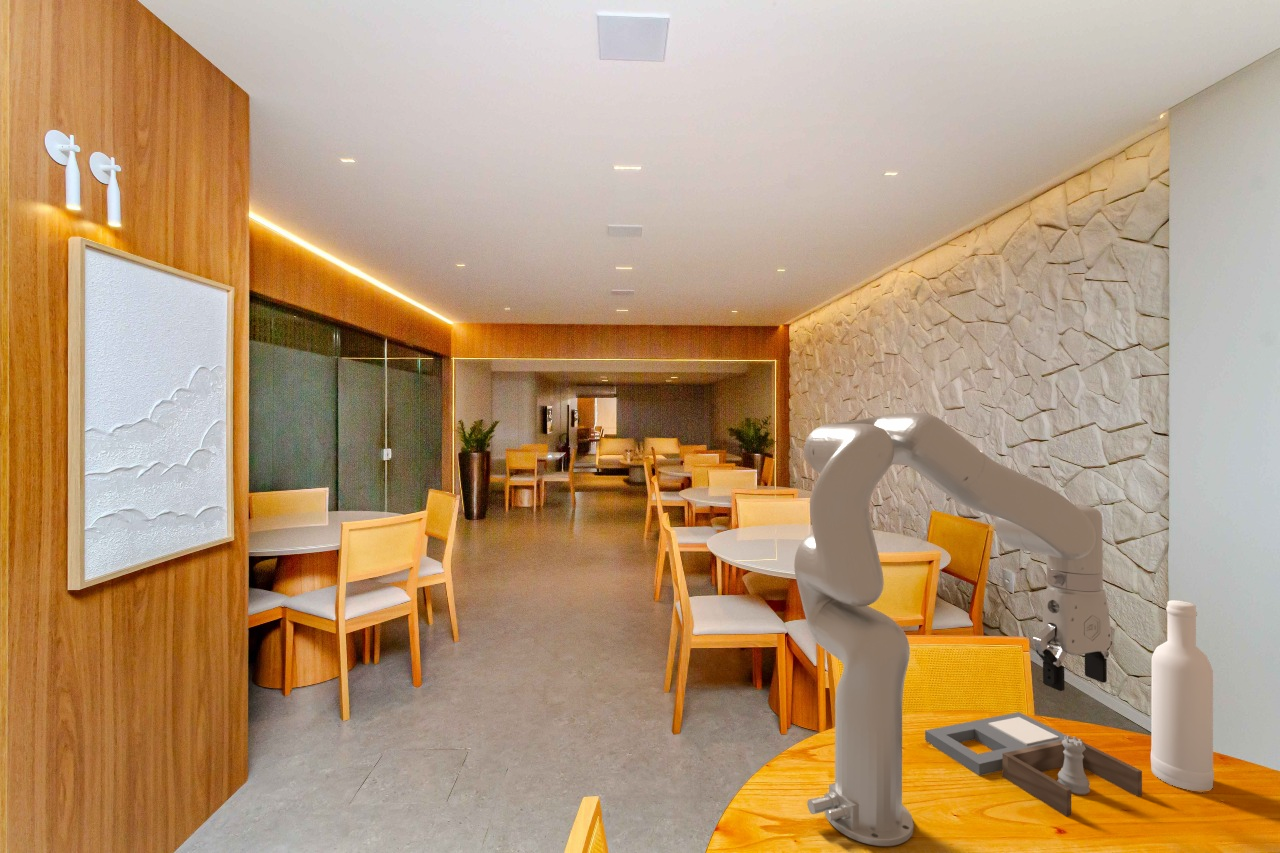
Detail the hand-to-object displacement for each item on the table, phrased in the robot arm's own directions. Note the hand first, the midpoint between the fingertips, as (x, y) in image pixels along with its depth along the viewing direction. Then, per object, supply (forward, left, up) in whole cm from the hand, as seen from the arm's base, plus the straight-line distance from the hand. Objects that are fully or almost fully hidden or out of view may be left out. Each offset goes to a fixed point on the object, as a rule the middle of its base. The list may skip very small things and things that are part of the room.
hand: (1074, 683), depth 99 cm
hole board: (0, +14, -17) cm, 22 cm away
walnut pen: (0, 0, -17) cm, 17 cm away
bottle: (+20, -4, -17) cm, 27 cm away
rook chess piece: (0, 0, -18) cm, 18 cm away
